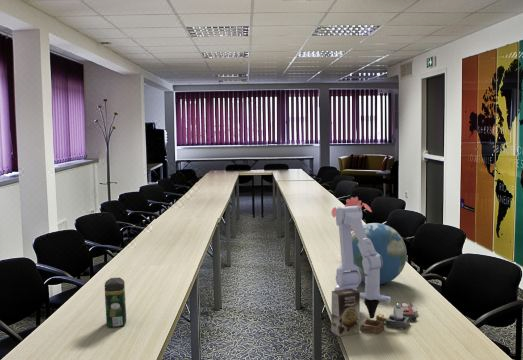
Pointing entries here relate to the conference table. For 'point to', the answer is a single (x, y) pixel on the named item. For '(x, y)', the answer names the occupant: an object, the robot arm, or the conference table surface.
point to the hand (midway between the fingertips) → (372, 317)
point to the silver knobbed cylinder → (398, 312)
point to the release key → (381, 317)
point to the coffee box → (345, 312)
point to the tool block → (397, 322)
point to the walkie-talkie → (409, 311)
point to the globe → (382, 250)
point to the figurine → (352, 203)
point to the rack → (372, 326)
